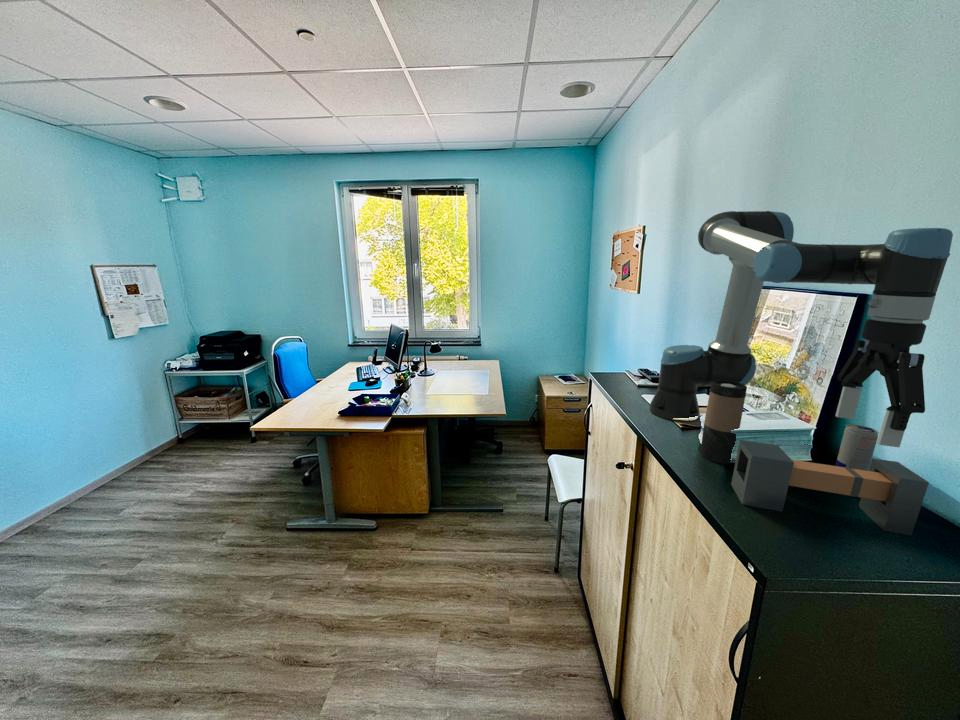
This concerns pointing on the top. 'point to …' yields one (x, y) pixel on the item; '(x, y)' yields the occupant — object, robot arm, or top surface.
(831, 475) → the orange bar
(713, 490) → the top surface
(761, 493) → the sleeve
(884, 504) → the socket
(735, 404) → the travel mug
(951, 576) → the top surface
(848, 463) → the beverage can
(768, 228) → the robot arm
